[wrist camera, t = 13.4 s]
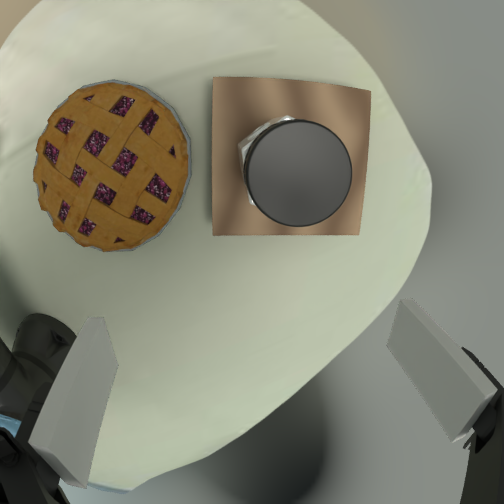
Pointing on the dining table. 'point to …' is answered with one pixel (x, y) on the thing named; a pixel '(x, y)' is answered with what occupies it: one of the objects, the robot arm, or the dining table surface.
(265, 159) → the jar
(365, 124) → the wooden serving stand
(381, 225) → the dining table surface
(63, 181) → the pie
